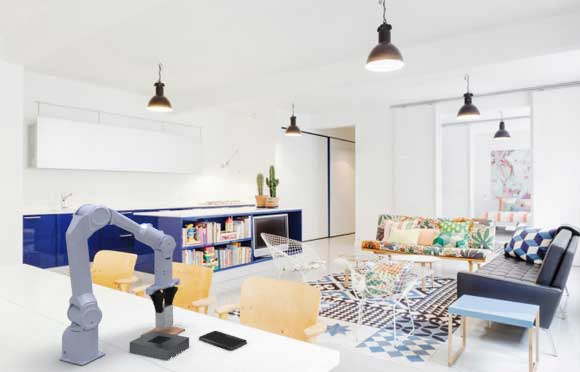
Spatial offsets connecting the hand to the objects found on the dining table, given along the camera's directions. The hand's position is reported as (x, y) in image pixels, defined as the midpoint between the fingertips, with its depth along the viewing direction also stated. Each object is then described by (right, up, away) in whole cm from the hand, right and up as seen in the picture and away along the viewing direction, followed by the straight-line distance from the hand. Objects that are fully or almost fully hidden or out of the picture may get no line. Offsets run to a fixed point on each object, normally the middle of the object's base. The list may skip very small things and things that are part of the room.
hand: (163, 310), depth 134 cm
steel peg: (0, -5, 0) cm, 5 cm away
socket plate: (+3, -8, -13) cm, 16 cm away
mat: (0, -8, 0) cm, 8 cm away
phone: (+21, -8, -7) cm, 24 cm away
